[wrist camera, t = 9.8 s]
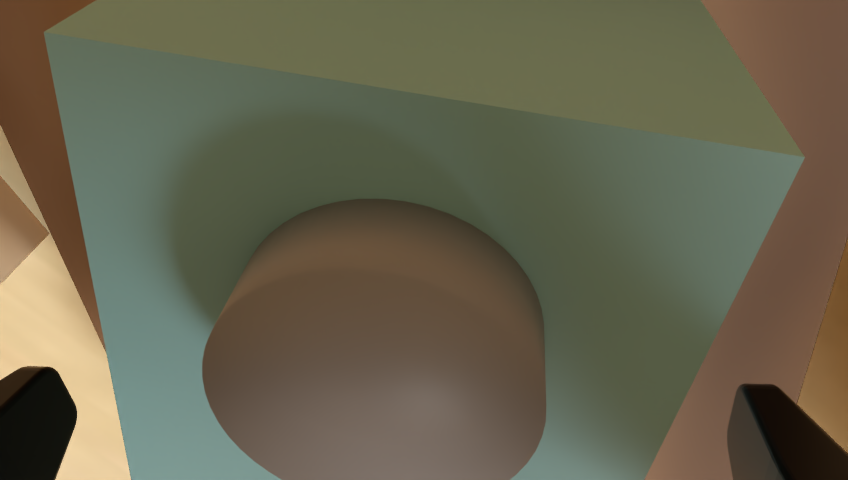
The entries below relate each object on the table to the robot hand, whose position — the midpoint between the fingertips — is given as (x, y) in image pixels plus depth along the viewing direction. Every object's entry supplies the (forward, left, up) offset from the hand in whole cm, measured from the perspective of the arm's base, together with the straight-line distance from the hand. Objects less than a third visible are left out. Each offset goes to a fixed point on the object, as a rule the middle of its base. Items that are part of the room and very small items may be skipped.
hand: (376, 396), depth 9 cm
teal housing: (0, 0, -4) cm, 4 cm away
